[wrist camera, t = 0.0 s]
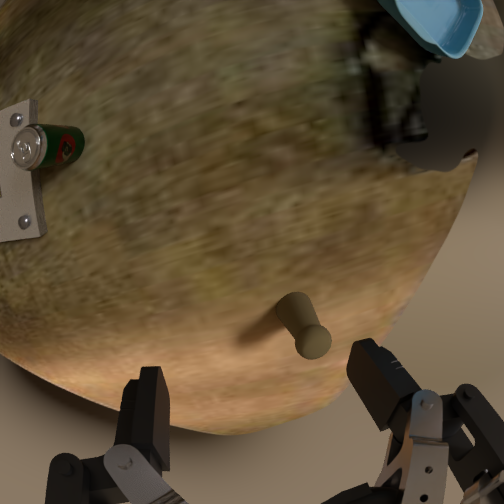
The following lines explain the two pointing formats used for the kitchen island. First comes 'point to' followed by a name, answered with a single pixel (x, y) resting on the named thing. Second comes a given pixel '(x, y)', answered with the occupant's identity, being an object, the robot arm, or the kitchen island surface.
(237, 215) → the kitchen island surface
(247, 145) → the kitchen island surface
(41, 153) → the soda can
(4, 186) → the socket plate
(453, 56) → the casserole dish
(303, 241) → the kitchen island surface
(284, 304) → the cork
